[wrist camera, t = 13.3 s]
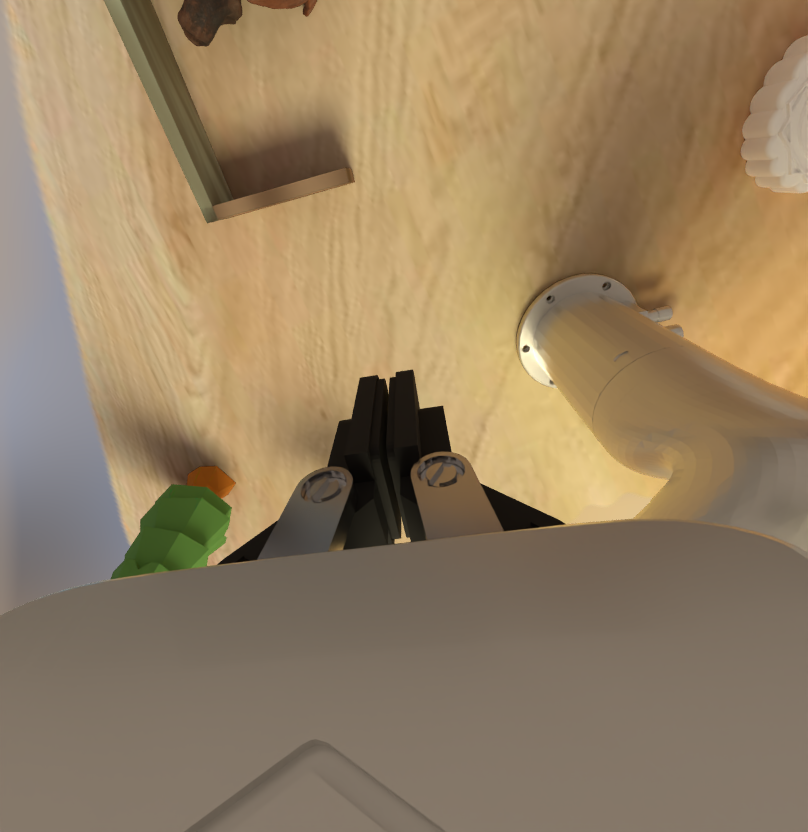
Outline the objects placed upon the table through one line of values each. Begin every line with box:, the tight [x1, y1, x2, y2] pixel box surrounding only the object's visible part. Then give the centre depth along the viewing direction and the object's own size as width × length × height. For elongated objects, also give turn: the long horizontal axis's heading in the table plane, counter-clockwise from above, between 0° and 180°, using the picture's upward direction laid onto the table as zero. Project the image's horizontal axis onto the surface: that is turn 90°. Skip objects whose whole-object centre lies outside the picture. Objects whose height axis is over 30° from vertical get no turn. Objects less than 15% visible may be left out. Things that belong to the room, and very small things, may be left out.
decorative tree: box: [111, 466, 236, 579], centre depth 39 cm, size 10×9×30 cm
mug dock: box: [104, 0, 355, 223], centre depth 27 cm, size 12×20×5 cm, turn 13°
